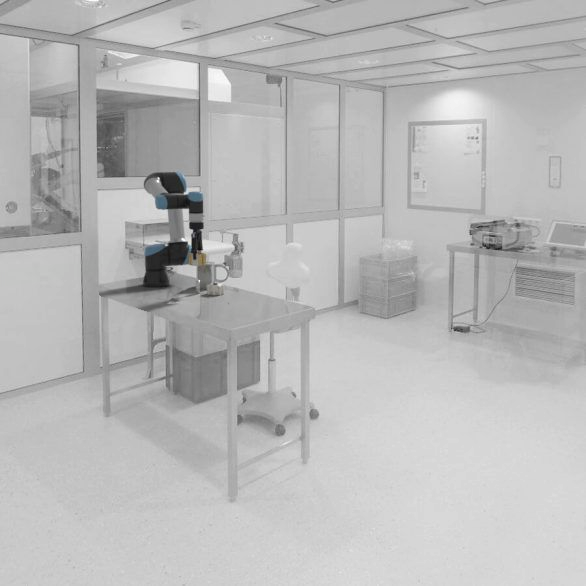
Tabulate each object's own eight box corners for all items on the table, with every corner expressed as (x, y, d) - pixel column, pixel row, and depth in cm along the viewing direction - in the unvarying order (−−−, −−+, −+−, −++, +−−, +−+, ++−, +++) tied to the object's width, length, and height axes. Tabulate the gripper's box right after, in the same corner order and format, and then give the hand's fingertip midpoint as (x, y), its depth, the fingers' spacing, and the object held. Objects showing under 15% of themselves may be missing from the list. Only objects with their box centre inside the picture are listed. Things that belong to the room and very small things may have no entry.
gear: (209, 292, 355) (208, 281, 353) (225, 292, 354) (225, 281, 353) (205, 295, 346) (205, 284, 345) (222, 295, 345) (222, 284, 344)
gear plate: (192, 293, 356) (191, 279, 354) (225, 294, 354) (225, 280, 352) (187, 297, 347) (187, 282, 345) (222, 298, 345) (222, 283, 344)
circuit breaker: (217, 286, 376) (216, 260, 373) (211, 291, 362) (211, 264, 359) (204, 286, 377) (203, 260, 374) (198, 291, 363) (197, 264, 360)
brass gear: (191, 263, 352) (190, 252, 351) (207, 263, 351) (207, 252, 350) (187, 265, 344) (186, 254, 342) (203, 266, 343) (203, 254, 342)
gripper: (198, 223, 332) (199, 267, 337) (207, 219, 353) (208, 261, 358) (184, 223, 333) (185, 267, 337) (194, 219, 354) (195, 261, 358)
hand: (197, 264), depth 347 cm, fingers closed on brass gear, 9 cm apart
